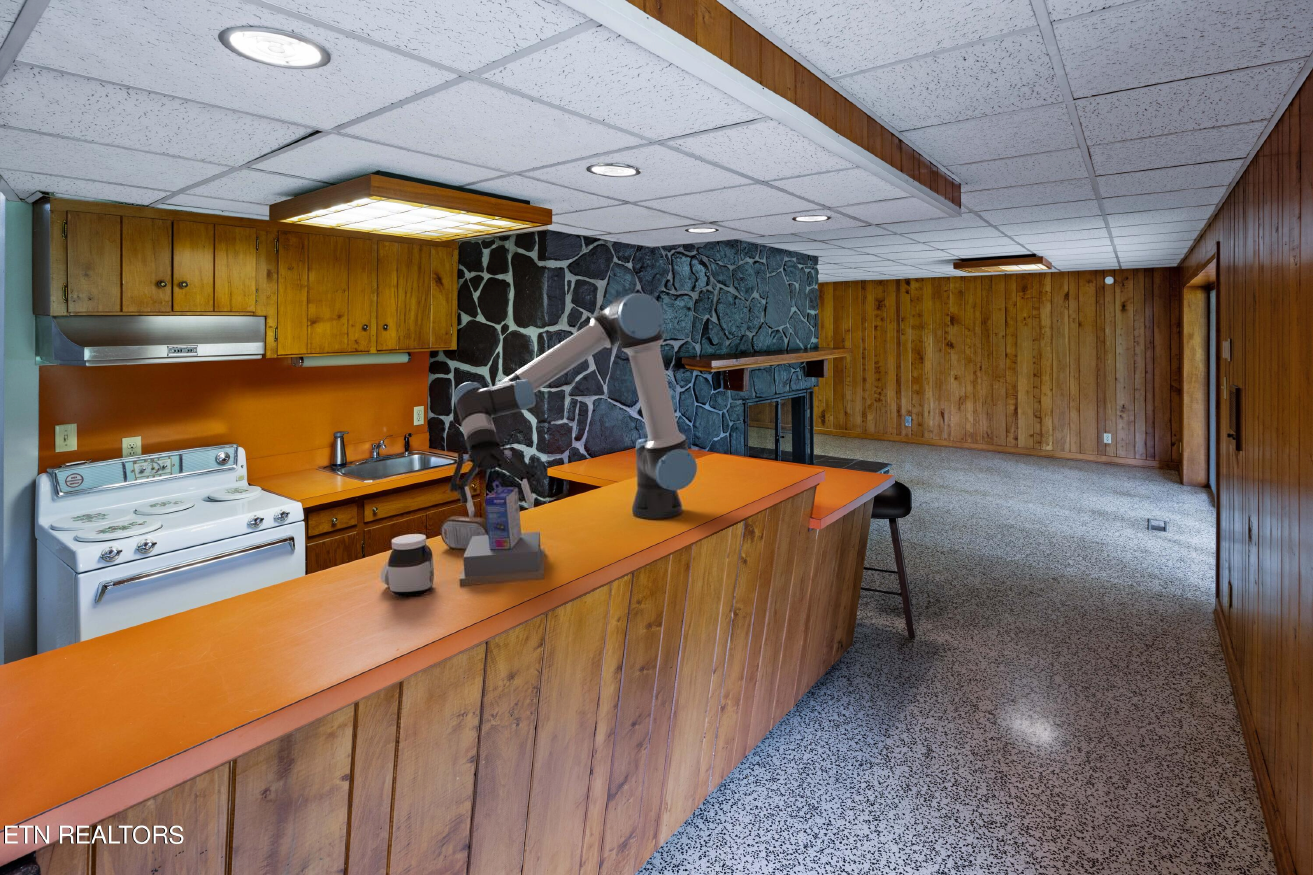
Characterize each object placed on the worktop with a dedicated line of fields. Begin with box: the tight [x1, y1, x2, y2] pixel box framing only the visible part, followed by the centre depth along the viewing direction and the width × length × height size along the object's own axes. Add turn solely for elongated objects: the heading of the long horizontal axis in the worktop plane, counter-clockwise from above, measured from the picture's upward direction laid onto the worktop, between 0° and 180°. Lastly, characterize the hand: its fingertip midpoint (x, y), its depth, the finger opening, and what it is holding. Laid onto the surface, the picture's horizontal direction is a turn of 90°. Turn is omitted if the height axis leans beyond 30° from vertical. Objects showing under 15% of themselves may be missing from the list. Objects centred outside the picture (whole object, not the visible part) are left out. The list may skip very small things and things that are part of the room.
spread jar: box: [379, 533, 435, 599], centre depth 140 cm, size 12×11×12 cm
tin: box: [439, 515, 488, 551], centre depth 168 cm, size 15×3×8 cm, turn 70°
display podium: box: [459, 531, 546, 586], centre depth 152 cm, size 18×18×6 cm
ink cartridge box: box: [484, 480, 522, 549], centre depth 151 cm, size 10×6×14 cm, turn 178°
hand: (502, 509), depth 150 cm, fingers open, 13 cm apart
